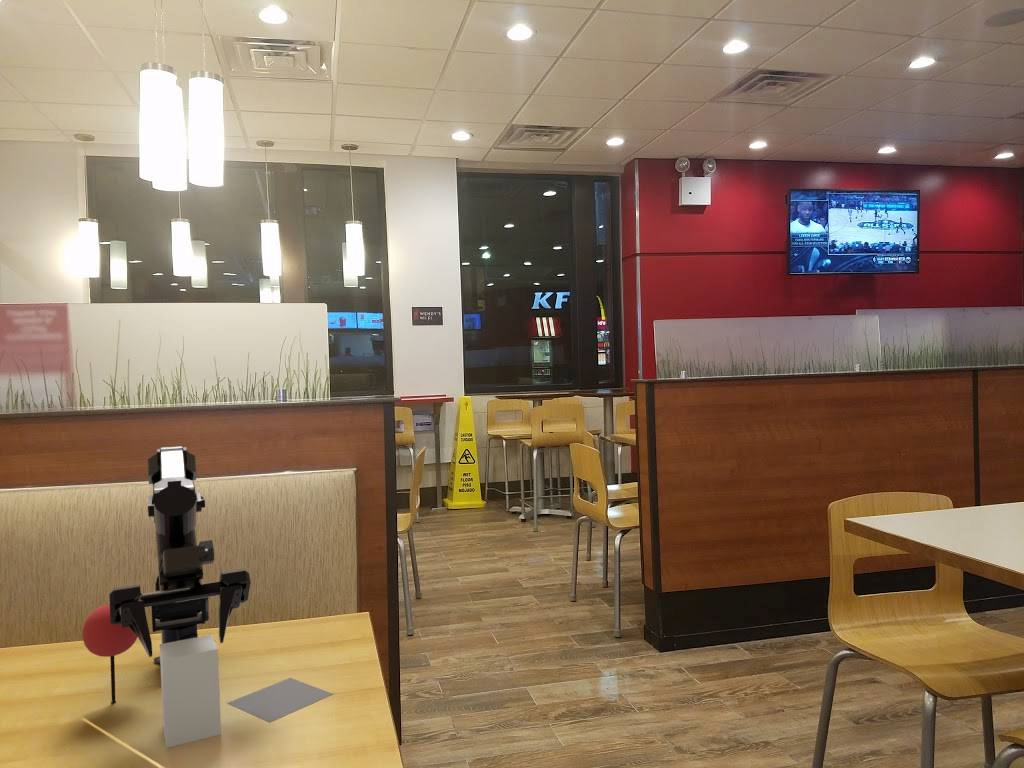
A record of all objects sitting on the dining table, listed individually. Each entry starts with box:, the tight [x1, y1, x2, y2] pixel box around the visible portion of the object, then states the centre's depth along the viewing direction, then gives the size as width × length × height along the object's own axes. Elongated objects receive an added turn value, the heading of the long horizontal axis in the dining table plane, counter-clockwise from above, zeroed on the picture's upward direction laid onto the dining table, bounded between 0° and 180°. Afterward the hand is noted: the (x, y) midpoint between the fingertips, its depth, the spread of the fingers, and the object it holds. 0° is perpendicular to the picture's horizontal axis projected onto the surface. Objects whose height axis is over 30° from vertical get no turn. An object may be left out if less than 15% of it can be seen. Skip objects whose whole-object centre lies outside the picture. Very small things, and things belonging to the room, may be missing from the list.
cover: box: [159, 634, 222, 749], centre depth 100 cm, size 7×7×12 cm
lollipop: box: [82, 603, 138, 704], centre depth 111 cm, size 8×8×15 cm
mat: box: [227, 677, 334, 723], centre depth 110 cm, size 11×11×1 cm
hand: (187, 648), depth 103 cm, fingers open, 9 cm apart
